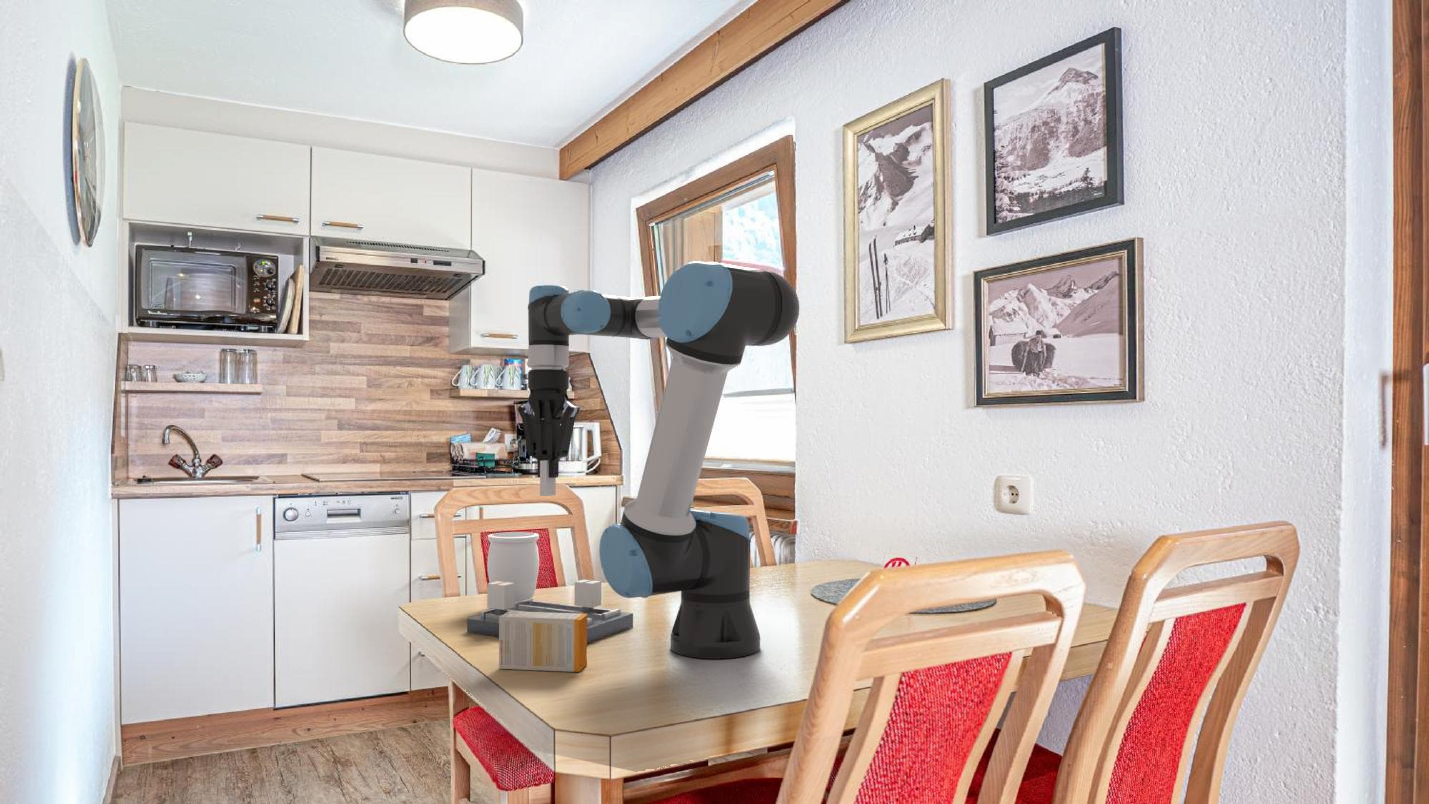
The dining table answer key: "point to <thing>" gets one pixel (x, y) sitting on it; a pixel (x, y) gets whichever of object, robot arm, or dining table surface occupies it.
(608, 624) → the dark grey slotted tray
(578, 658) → the supplement box
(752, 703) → the dining table surface
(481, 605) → the dining table surface
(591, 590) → the fader
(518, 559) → the jar
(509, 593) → the fader
